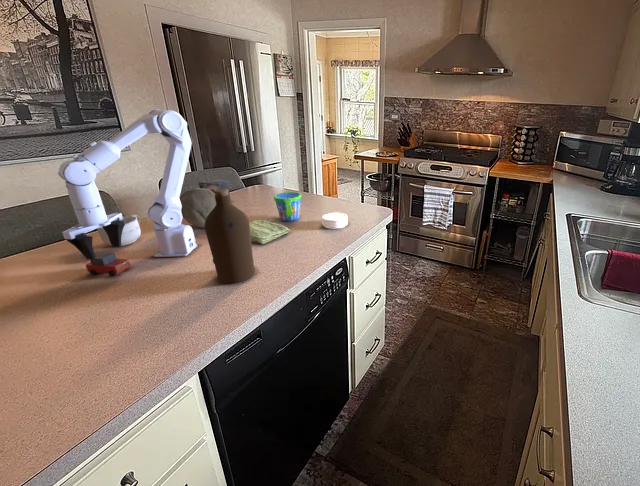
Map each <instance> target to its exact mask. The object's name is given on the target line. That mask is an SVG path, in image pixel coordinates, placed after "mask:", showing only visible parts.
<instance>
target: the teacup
mask: <svg viewBox="0 0 640 486" xmlns="http://www.w3.org/2000/svg"><path fill="white" fill-rule="evenodd" d="M122 217H123V220H120V221H124V223H125V226H124V228H123V231H122V236H121V247H124V246H127V245H130V244H132V243H135V242H136V241H137V240H138V239H139V238H140V236H141V234H142V231H141V227H140V224H141V217H140V216H139V215H138V214H131V215H127V216H126V215H125V216H122ZM96 230H97V232H98V235H99V238H100V239H101V241H102V242H103V243H104V244H106V245H108V246H112V245H111V243H110V240H109V237H108V235H107V233H106V232H105V230H104V229H103V227H100V228H97V229H96ZM112 247H113V246H112Z"/></svg>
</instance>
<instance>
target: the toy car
mask: <svg viewBox="0 0 640 486" xmlns="http://www.w3.org/2000/svg"><path fill="white" fill-rule="evenodd" d="M89 261H90V262H88V263H86V264H85V268H86V270H87V272H88V273H89V274H90V275H91V276H96V275H97V274H98V273H99V274H101V273H103V274H108V275H109V277H115V276H117V275H118V274H120V273H121V272H123V271H125V270H128V269H130V267H131V266H132V265H131V262H130V259H125V258H117V255H116V253H115V252H107V251H106V252H105V251H104V252H103V251H102V252H100V253H97V254H95V259H93V260H90V259H89Z"/></svg>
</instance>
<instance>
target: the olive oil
mask: <svg viewBox="0 0 640 486" xmlns="http://www.w3.org/2000/svg"><path fill="white" fill-rule="evenodd" d="M214 193H215V201H216V206H215V207H214V208H213V210H212V211H211V212H210V213H209V215H208V216H207V218H206V220H205V228H204V231H205V236H206V238H207V242H208V246H209V249H210V252H211V256H212V263H213V265H214V267H215V271H216V276H217V279H218V281H219V282H221V283H223V284H237V283H241V282H244V281H247V280H248V279H250V278H252V277H253V276H254V275H255V262H254V256H253V255H254V254H253V245H252V241H251V235H250V225H249V223H250V220H249V218H248V216H247V214H246V213H245V212H244V211H243V210H242V209H240V208H239V207H237V206H236V205H234V204H233V203H232V201H231V202H230V198H231V195H230V196H229V194H228V189H224V188H223V189H216V190H214Z"/></svg>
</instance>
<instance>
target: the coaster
mask: <svg viewBox="0 0 640 486" xmlns="http://www.w3.org/2000/svg"><path fill="white" fill-rule="evenodd" d="M321 219H322V220H321V223H322V224H321V225H322V227H324V228H325V229H330V230H332V229H334V230H338V229H342V228H345V227H346V226H348V225H349V224H348V223H349V219H348V215H347V214H346V213H345V212H329V213H326V214H324V215H322V216H321Z"/></svg>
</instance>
